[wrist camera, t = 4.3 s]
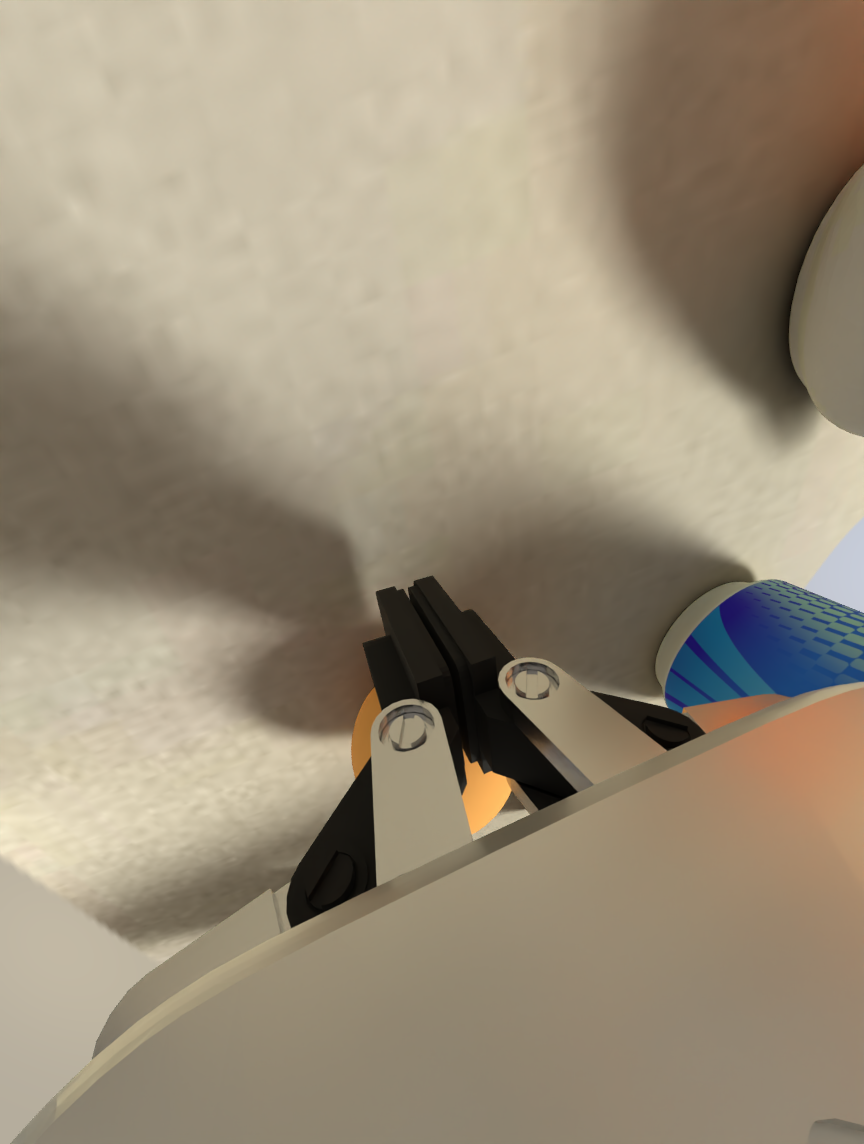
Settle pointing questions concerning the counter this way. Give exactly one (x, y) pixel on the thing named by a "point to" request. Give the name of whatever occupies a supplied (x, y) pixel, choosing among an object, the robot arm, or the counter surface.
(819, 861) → the robot arm
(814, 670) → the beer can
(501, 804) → the ball
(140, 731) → the counter surface
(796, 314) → the teacup
